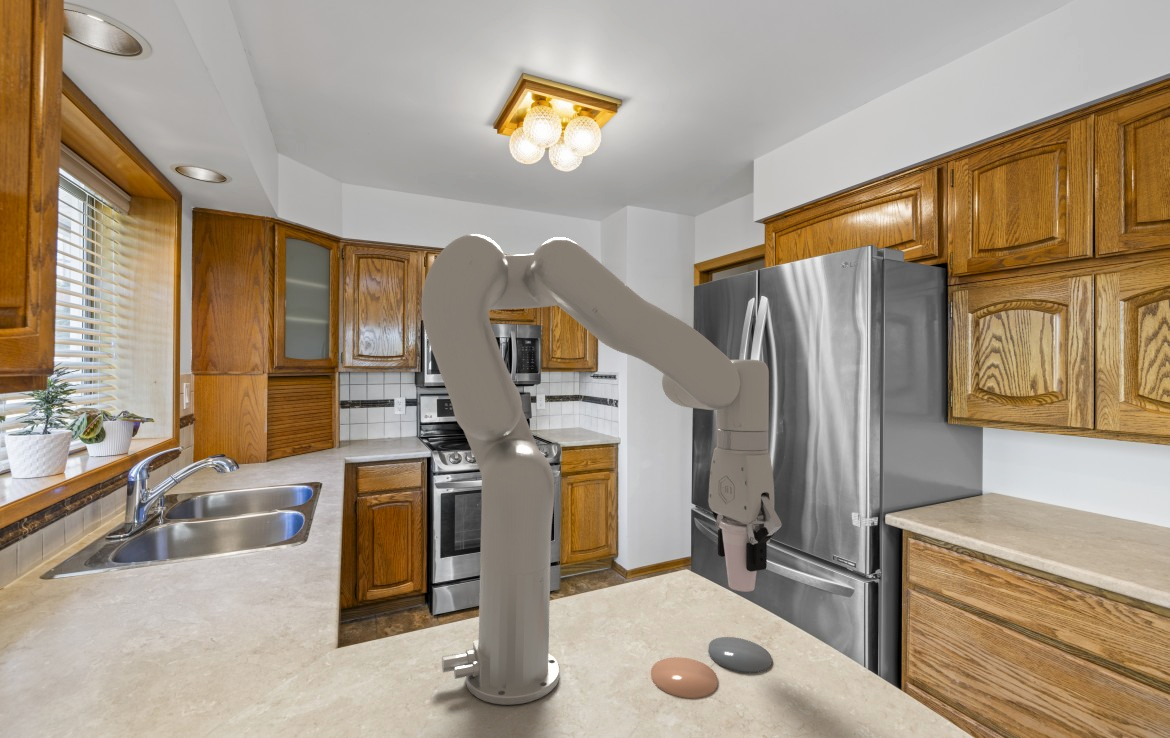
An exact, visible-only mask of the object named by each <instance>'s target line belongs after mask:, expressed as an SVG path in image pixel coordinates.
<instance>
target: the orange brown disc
mask: <svg viewBox="0 0 1170 738" xmlns="http://www.w3.org/2000/svg"><path fill="white" fill-rule="evenodd" d="M650 678H651V681H652V680H653V681H652V682H653V684H654V683H655V684H656V685H655V684H654V685H655V686H656V687H657V686H658V687H659V689H660V690H661V689H662V690H661V691H663V692H665V693H667V694H669V695H672V696H676V697H681V698H684V699H685V698H688V699H697V698H703V697H706V696H708V695H711V694H712V693H713V692H715V690H716V689H717V687H718V680H719V679H718V676H717V674H716V672H715V671H714V669H712V668H711V667H710V666H709V665H707V664H705V663H703V662H701V661H699V660H695V659H693V658H687V657H681V656H680V657H679V656H678V657H677V656H675V657H667V658H663V659H660V660H658V661H657V662H655V663H654V664H653V665H652V666H651V669H650ZM658 687H657V688H658Z"/></svg>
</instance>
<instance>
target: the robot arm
mask: <svg viewBox="0 0 1170 738" xmlns="http://www.w3.org/2000/svg"><path fill="white" fill-rule="evenodd" d="M556 306H557V307H559V308H560V309H561V310H562V311H563V312H564V313H566V314H567V315H569V316H570V317H571V318H572V319H573V320H574V321H576V322H578V323H579V325H581V327H583V328H584V329H585V330H587V331H588V333H590V334H592V336H593V337H595V338H596V339H597V340H599V341H600V342H601V343H602V344H604V345H605V346H607V347H609V348H611V349H613V350H614V351H617V352H618V353H622V354H624V355H625V354H626V355H629V356H631V357H634V358H636V359H639V360H641V361H643V362H645V363H646V364H648V365H650V366H652V367H653V368H655V369H656V370H658V371H659V372H661V373H662V374H663V376H662V380H661V385H662V386H661V387H662V390H663V392H664V395H666V397H667V398H668V399H669V400H670V401H671V402H672V403H674V404H676V405H678V406H681V407H684V408H691V409H701V410H706V411H707V410H709V411H716V440H715V441H716V447H715V448H714V449H713V454H712V458H711V464H710V473H709V483H708V484H709V486H708V499H707V502H708V506H709V508H710V510H711V511H712V515H713V517H714V519H715V524H714V525H715V528H716V529H717V555H718V556H719V557H720V558H722V557H723V558H724V557H725V551H724V543H723V535H722V529H721V528H720V527H719V526H720V520H721V519H722V518H725V517H727V518H730V519H732V520H735V521H737V522H740V523H743V524H746V527H747V531H748V536H749V540H750V542H748V543H747V544H746V568H747V570H748V571H750V572H752V571H757V572H758V571H763V570H766V569H767V563H768V562H767V560H768V559H767V558H768V557H767V556H768V555H767V554H768V553H767V550H768V545H767V544H768V543H770V542H771V538H772V537H773V536H775V533H777V531H779V529H780V528H781V527H782V525H783V524H782V521H781V519H780V517H779V515H778V514H777V512H776V510H775V483H774V475H773V474H774V473H773V465H772V459H771V455H770V453H769V430H770V429H769V427H770V426H769V425H770V423H769V421H770V420H769V419H770V417H769V414H770V411H769V408H770V407H769V402H770V401H769V399H770V398H769V395H770V392H769V391H770V389H769V388H770V387H769V386H770V381H769V380H770V375H769V374H770V371H769V367H768V365H767V363H766V362H765V361H762V360H759V359H730V358H729V357H728V356H727V355H726V354H725V353H724V352H722V351H721V350H720V349H719V348H718V347H717V346H715V344H714V343H712V342H711V341H710V340H709V339H707V338H706V336H704V335H703V334H701V333H700V332H699V331H697V329H695V328H693V327H692V326H691V325H689V324H688V323H686V322H684V321H683V320H680V319H679V318H677V317H676V316H673V315H672V314H670V313H669V312H667V311H665V310H663V309H661V308H660V307H658V306H656V305H654V304H652V303H651V302H650V301H649V302H648V301H647V300H646V299H644V298H642V297H641V296H640V295H639V294H638V293H636V292H635V291H634V290H633V289H632V288H631V287H629V286H628V285H627V284H626V283H625V282H623V281H622V280H621V279H620V278H619V277H617V276H616V275H615V274H614V273H612V271H610V270H609V269H608V268H607V267H606V266H604V265H603V263H601V262H600V261H599V260H597V258H595V257H594V256H593V255H592V254H591V253H590V252H588V250H586V249H584V247H582V246H581V245H580V244H578V242H576V241H573V240H572V239H570V238H566V237H560V236H559V237H558V236H557V237H553V238H550V239H548V240H546V241H545V242H543V243H541V245H539V247H538V248H536V250H535V251H534V252H533V253H529V254H528V253H526V254H505V253H504V251H503V250H502V248H501V247H500V245H498V244H497V242H495V241H494V240H492V238H490V237H487V236H485V235H482V234H477V233H475V234H474V233H471V234H465V235H462V236H459V237H457V238H456V239H454V240H452V241H451V242H450V243H448V245H446V246H445V247H444V248H443V249H442V250H441V251H440V253H439V254H438V255H437V256H436V257H435V259H434V260H433V262H432V264H431V266H430V267H429V269H428V272H427V274H426V276H425V280H424V284H423V288H422V292H421V315H422V322H423V327H424V331H425V334H426V336H427V337H426V338H427V340H428V344H429V346H430V349H431V351H432V354H433V356H434V359H435V362H436V365H437V367H438V371H439V373H440V376H441V378H442V382H443V384H444V386H445V389H446V391H447V394H448V396H449V397H448V398H449V400H450V402H451V403H450V404H451V405H452V406H451V407H452V409H453V415H454V417H455V420H456V422H457V424H458V425H459V427H460V428H461V429H462V430H463V433H464V436H465V438H466V439H467V442H468V445H469V447H470V450H471V452H472V455H473V456H474V459H475V462H476V465H477V467H478V470H479V472H480V475H481V510H480V511H481V515H480V517H481V518H480V519H481V521H480V548H479V549H480V552H479V553H480V558H479V560H480V561H479V565H480V566H479V567H480V568H479V604H478V605H479V606H478V607H479V608H478V609H479V610H478V639H475V640H473V641H472V648H469V649H466V650H465V652H462V653H458V654H457V653H453V654H448V655H447V654H446V655H442V657H441V669H442V673H444V674H445V673H449V672H453V677H454V679H455V680H456V679H462V678H465V685H466V687H467V689H468V691H469V692H470V693H471V694H472V695H474V696H475V697H476V698H477V699H480V700H482V701H484V702H486V703H489V704H495V705H502V706H505V705H507V706H508V705H509V706H513V705H522V704H526V703H530V702H533V701H535V700H538V699H541V698H543V697H545V696H546V695H548V694H549V693H551V692H552V691H553V690H554V688H556V686H557V684H558V683H559V680H560V672H561V671H560V664H559V662H558V660H557V659H556V658H555V657H554V656H553V655H552V654H550V653H549V650H550V649H549V648H550V647H549V645H550V640H549V639H550V607H551V606H550V603H551V601H550V598H551V597H550V595H551V594H550V593H551V591H550V590H551V554H552V553H551V551H552V549H551V548H552V546H551V545H552V526H553V525H552V524H553V517H554V515H553V514H554V504H555V491H556V487H555V477H554V473H553V470H552V467H551V464H550V462H549V460H548V459H547V458H546V457H545V455H544V454H543V452H541V451H540V449H539V447H538V445H537V442H536V440H535V438H534V435H533V433H532V430H531V427H530V425H529V423H528V421H527V417H526V414H525V413H524V410H523V401H522V396H521V394H520V391H519V389H518V387H517V385H515V383H514V380H513V378H512V376H511V374H510V372H509V370H508V367H507V365H506V362H505V360H504V358H503V354H502V352H501V350H500V348H499V344H498V340H497V338H496V335H495V332H494V330H493V327H492V323H491V321H490V314H489V313H490V311H497V310H514V309H516V310H518V309H535V308H546V307H547V308H549V307H556ZM755 525H759V530H758V531H757V532H756V530H755Z"/></svg>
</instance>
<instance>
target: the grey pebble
mask: <svg viewBox="0 0 1170 738" xmlns="http://www.w3.org/2000/svg"><path fill="white" fill-rule="evenodd" d="M707 650H708V655H709V656H710V658H711V659H712V660H713V661H714V662H715V663H716V664H718V665H720V666H721V667H723V668H726V669H728V670H731V671H733V672H737V673H743V674H756V673H757V674H758V673H762V672H765V671H767V670H768V669H770V667H771V665H772V662H773V661H772V658H773V657H772V655H771V653H770V652H769V651H768V650H767V649H765V648H764V647H763V646H762V645H761V644H758V643H756V642H754V641H750V640H747V639H744V638H739V637H734V636H724V637H723V636H721V637H717V638H714V639H712V640H711V641H710V642H709V643H708V649H707Z"/></svg>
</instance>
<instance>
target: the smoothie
mask: <svg viewBox="0 0 1170 738" xmlns="http://www.w3.org/2000/svg"><path fill="white" fill-rule="evenodd" d="M719 527H720V528H721V529H722V535H723V543H724V551H725V556H724V559H725V566H726V574H727V581H728V583H727V584H728V587H729V588H730V589H732V590H734V591H736V592H743V593H744V592H745V593H746V592H752V591H754V590H755V587H756V579H757V572H758V571H752V572H750V571H748V570H747V568H746V544H747V543H748V542H750V540H749V536H748V531H747V527H746V524H743V523H740V522H737V521H735V520H732V519H730V518H727V517H725V518H722V519H721V520H720V526H719ZM755 530H756V532H757V531H758V530H759V525H755Z"/></svg>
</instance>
